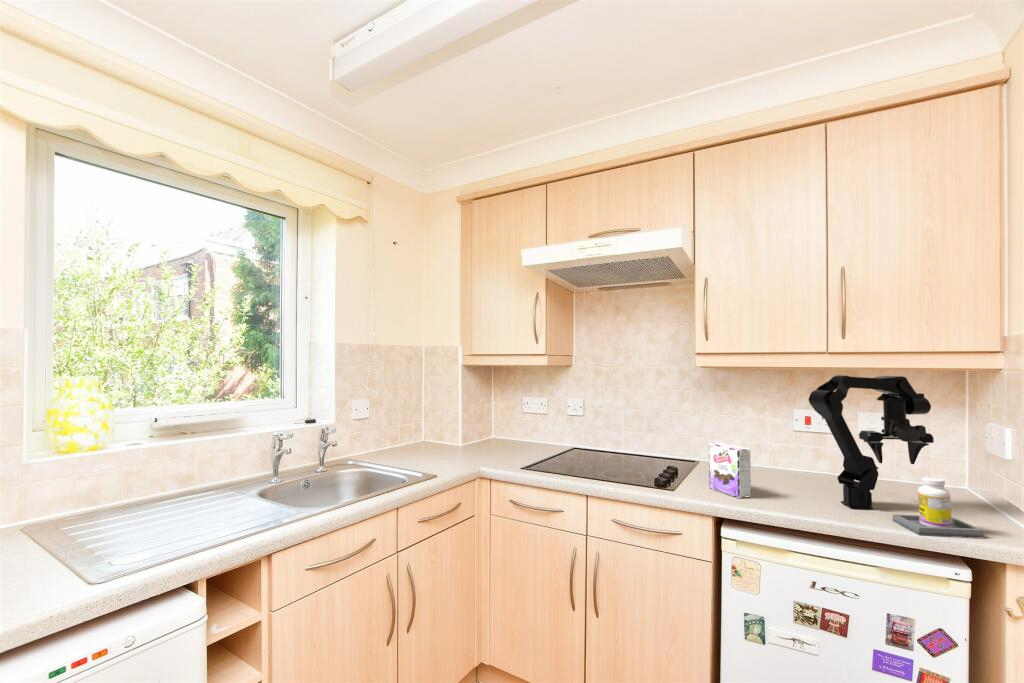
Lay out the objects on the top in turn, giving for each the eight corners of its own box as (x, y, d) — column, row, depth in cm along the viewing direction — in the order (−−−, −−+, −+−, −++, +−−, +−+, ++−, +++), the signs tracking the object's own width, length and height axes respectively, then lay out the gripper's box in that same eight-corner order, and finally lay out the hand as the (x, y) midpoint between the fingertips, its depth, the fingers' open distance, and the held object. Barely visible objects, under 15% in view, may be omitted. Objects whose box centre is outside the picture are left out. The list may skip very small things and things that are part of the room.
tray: (919, 535, 126) (919, 527, 126) (892, 521, 137) (892, 514, 137) (983, 538, 124) (983, 530, 124) (951, 523, 135) (951, 516, 135)
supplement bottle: (919, 520, 135) (917, 474, 136) (950, 525, 131) (948, 478, 132) (919, 526, 130) (917, 479, 131) (952, 532, 126) (950, 483, 127)
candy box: (708, 488, 172) (707, 442, 173) (721, 486, 175) (720, 441, 175) (738, 498, 160) (737, 449, 160) (752, 497, 162) (751, 448, 162)
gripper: (878, 417, 147) (879, 468, 147) (945, 418, 144) (947, 470, 144) (857, 413, 158) (859, 460, 158) (920, 414, 155) (922, 462, 155)
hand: (896, 463), depth 153 cm, fingers open, 9 cm apart
